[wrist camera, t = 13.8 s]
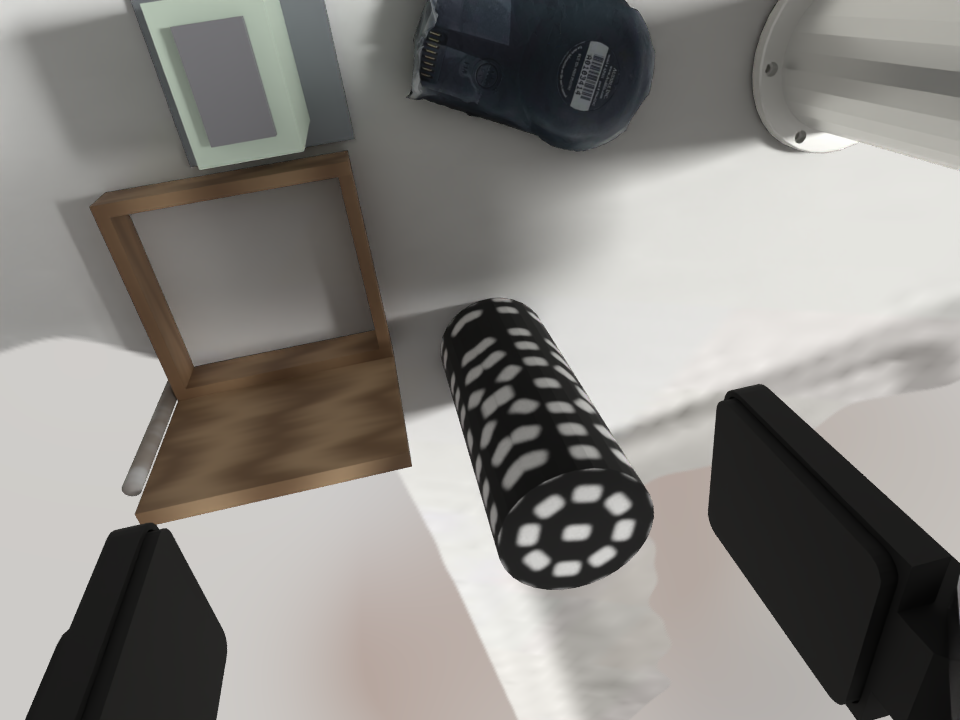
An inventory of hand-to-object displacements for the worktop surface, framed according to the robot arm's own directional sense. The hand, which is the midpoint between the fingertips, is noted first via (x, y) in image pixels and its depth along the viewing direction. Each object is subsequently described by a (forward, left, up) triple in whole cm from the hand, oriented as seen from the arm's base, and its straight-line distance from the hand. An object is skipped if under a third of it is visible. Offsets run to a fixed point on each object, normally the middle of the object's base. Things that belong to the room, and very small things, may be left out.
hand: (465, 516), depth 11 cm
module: (+6, -5, -34) cm, 35 cm away
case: (+9, +8, -34) cm, 36 cm away
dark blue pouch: (-11, -3, -35) cm, 37 cm away
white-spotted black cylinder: (-6, +17, -34) cm, 39 cm away
